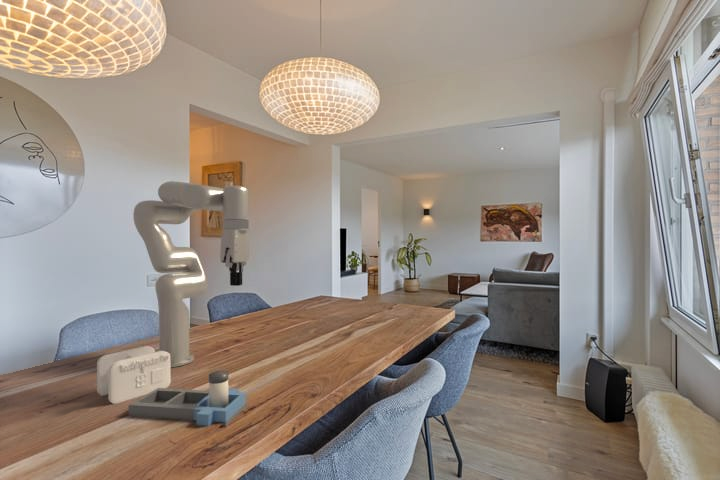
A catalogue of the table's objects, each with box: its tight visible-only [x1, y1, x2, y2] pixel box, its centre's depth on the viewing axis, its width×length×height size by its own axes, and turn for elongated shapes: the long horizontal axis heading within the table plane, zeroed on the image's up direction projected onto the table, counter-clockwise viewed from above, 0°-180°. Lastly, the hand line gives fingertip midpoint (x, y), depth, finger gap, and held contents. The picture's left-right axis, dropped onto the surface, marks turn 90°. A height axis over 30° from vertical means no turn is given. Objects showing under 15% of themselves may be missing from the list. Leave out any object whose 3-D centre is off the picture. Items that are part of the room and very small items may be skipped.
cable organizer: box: [96, 345, 171, 405], centre depth 99 cm, size 15×11×12 cm
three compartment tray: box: [128, 387, 247, 427], centre depth 88 cm, size 25×14×4 cm, turn 81°
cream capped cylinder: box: [208, 370, 229, 408], centre depth 87 cm, size 4×4×9 cm
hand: (236, 285), depth 110 cm, fingers closed
